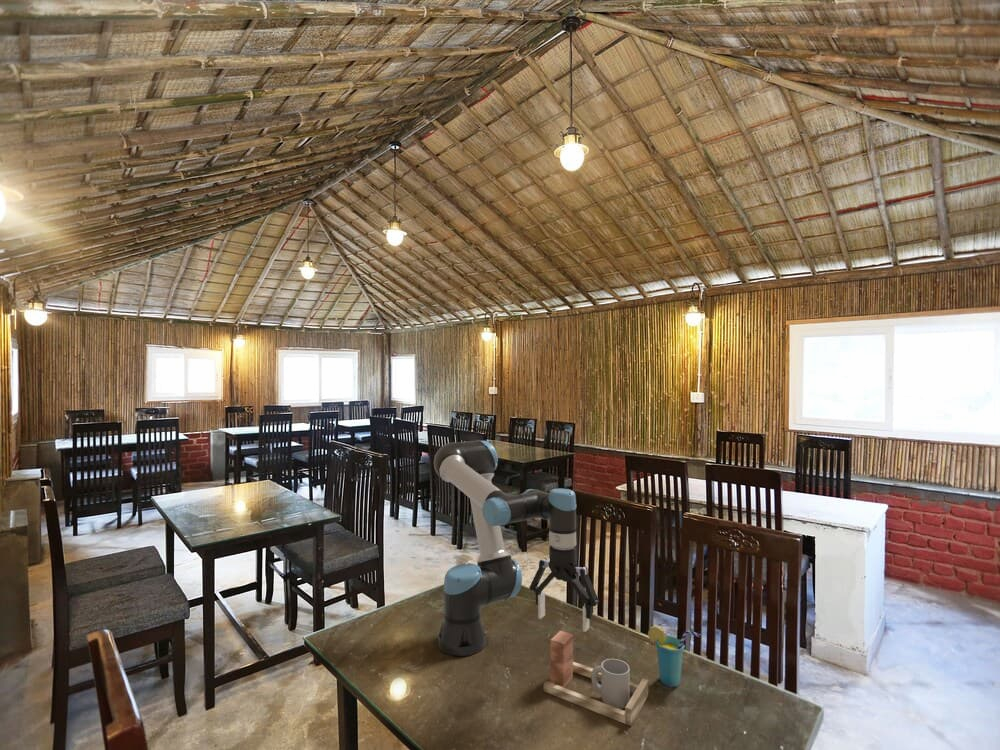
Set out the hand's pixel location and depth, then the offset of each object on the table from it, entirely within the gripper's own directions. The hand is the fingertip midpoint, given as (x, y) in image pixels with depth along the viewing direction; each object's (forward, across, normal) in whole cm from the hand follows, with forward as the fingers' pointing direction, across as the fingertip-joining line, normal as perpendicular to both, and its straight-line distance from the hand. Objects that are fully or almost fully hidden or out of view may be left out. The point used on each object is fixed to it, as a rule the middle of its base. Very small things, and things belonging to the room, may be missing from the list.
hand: (563, 623), depth 136 cm
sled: (+16, +9, 0) cm, 19 cm away
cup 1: (+17, +13, 0) cm, 21 cm away
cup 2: (+17, +25, +17) cm, 35 cm away
